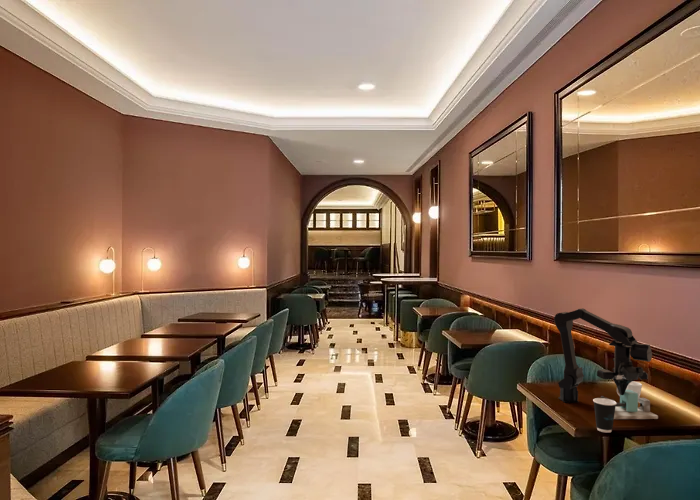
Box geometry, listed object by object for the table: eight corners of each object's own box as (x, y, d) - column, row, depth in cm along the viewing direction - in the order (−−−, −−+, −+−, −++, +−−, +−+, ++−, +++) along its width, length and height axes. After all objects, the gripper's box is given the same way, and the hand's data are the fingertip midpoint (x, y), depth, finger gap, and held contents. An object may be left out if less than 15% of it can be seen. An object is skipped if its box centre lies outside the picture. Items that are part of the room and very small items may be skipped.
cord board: (614, 419, 201) (614, 404, 201) (595, 407, 215) (595, 393, 215) (657, 418, 202) (658, 403, 202) (636, 407, 216) (636, 393, 216)
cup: (642, 404, 221) (642, 386, 221) (616, 400, 225) (616, 383, 225) (641, 400, 227) (641, 382, 227) (616, 396, 232) (616, 379, 232)
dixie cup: (611, 435, 183) (611, 405, 183) (589, 429, 189) (589, 400, 189) (619, 430, 188) (620, 401, 188) (597, 424, 194) (598, 396, 194)
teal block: (628, 411, 206) (628, 393, 206) (619, 407, 211) (620, 389, 211) (637, 411, 206) (637, 393, 206) (629, 407, 212) (629, 389, 212)
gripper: (611, 362, 200) (610, 401, 200) (656, 362, 201) (656, 401, 201) (596, 355, 211) (595, 392, 211) (639, 356, 212) (639, 392, 212)
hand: (621, 395), depth 208 cm, fingers closed
